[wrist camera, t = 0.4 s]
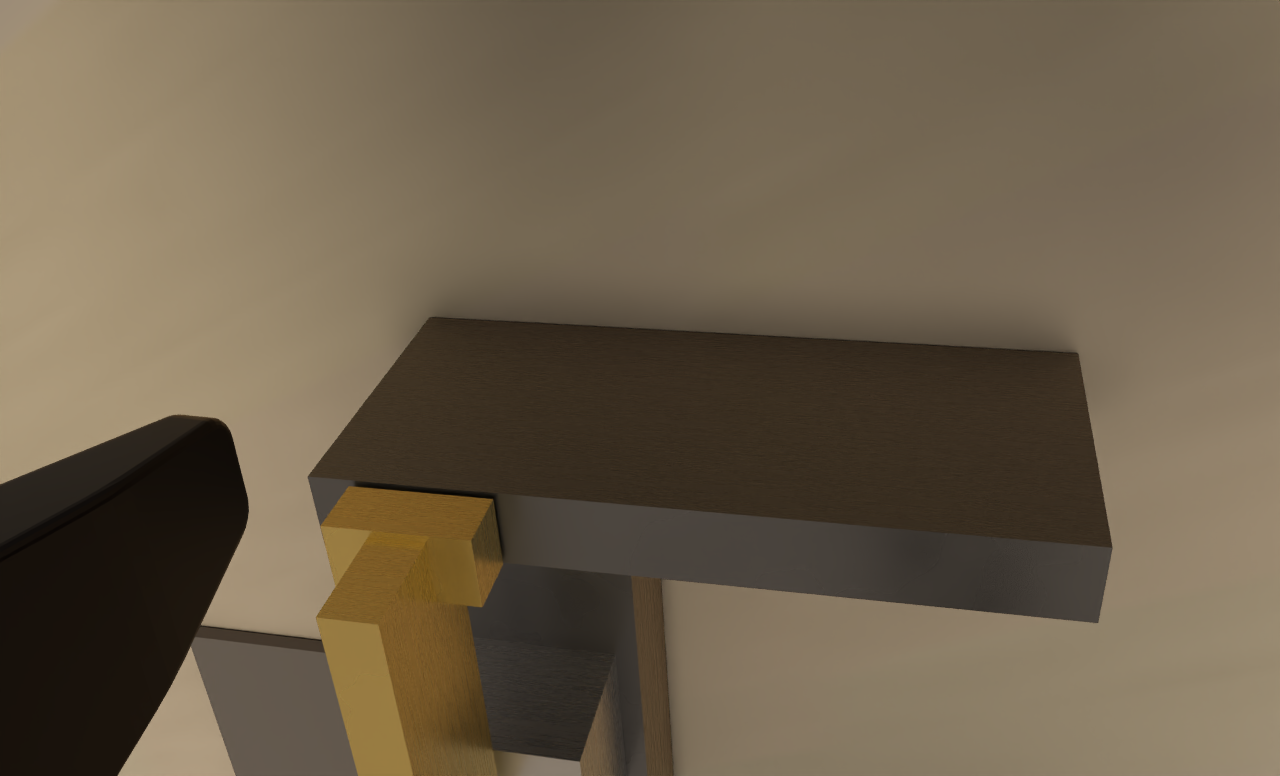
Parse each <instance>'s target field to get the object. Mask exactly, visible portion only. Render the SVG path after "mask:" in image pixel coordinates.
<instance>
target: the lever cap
mask: <svg viewBox="0 0 1280 776" xmlns="http://www.w3.org/2000/svg"><path fill="white" fill-rule="evenodd" d="M473 640H474V645H475V651H476V657H477V662H478V668H479V674H480V679H481V685H482V691H483V696H484V702H485V708H486V713H487V719H488V724H489V730H490V736H491V741H492V747H493V753H494V758H495V764H496V770H497V775H498V776H627V773H626V762H625V752H624V741H623V730H622V720H621V709H620V698H619V688H618V677H617V666H616V656H615V654H611V653H603V652H594V651H585V650H577V649H568V648H559V647H551V646H542V645H534V644H525V643H516V642H508V641H499V640H491V639H482V638H473Z"/></svg>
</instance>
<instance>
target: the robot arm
mask: <svg viewBox="0 0 1280 776" xmlns="http://www.w3.org/2000/svg"><path fill="white" fill-rule="evenodd" d="M248 513H249V506H248V497H247V493H246V489H245V485H244V481H243V477H242V473H241V469H240V465H239V462H238V458H237V454H236V450H235V446H234V442H233V438H232V435H231V432H230V430H229V429H228V427H227V426H226V424H225V423H224V422H222V421H220V420H219V419H216V418H208V417H199V416H189V415H172V416H168V417H166V418H163V419H161V420H158V421H156V422H153V423H151V424H148V425H146V426H143V427H141V428H139V429H136V430H134V431H131V432H129V433H126V434H124V435H121V436H119V437H116V438H114V439H111V440H109V441H106V442H104V443H101V444H99V445H97V446H94V447H92V448H89V449H87V450H84V451H82V452H79V453H77V454H74V455H72V456H69V457H67V458H64V459H62V460H59V461H57V462H55V463H52V464H50V465H47V466H45V467H42V468H40V469H37V470H35V471H32V472H30V473H27V474H25V475H22V476H20V477H18V478H15V479H13V480H10V481H8V482H5V483H3V484H0V776H118V774H119V772H120V771H121V769H122V767H123V766H124V764H125V762H126V761H127V759H128V757H129V756H130V754H131V752H132V751H133V749H134V748H135V746H136V744H137V743H138V741H139V739H140V738H141V736H142V734H143V733H144V731H145V729H146V728H147V726H148V724H149V723H150V721H151V719H152V718H153V716H154V714H155V713H156V711H157V709H158V708H159V706H160V704H161V702H162V701H163V699H164V697H165V695H166V694H167V692H168V690H169V688H170V687H171V685H172V683H173V681H174V679H175V677H176V675H177V673H178V671H179V669H180V667H181V665H182V663H183V661H184V659H185V657H186V655H187V653H188V651H189V649H190V647H191V644H192V642H193V640H194V638H195V636H196V634H197V632H198V629H199V627H200V625H201V623H202V621H203V619H204V617H205V615H206V612H207V610H208V608H209V606H210V604H211V602H212V600H213V597H214V595H215V593H216V591H217V589H218V587H219V585H220V583H221V580H222V578H223V576H224V574H225V572H226V570H227V568H228V565H229V563H230V561H231V559H232V557H233V555H234V553H235V551H236V548H237V546H238V544H239V542H240V540H241V538H242V536H243V533H244V531H245V528H246V524H247V520H248Z"/></svg>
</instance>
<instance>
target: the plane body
mask: <svg viewBox="0 0 1280 776" xmlns="http://www.w3.org/2000/svg"><path fill="white" fill-rule="evenodd" d="M308 480H309V484H310V488H311V492H312V495H313V499H314V503H315V507H316V511H317V515H318V519H319V523H320V527H321V524H322V523H323V522H324V520H325V519H326V517H327V516H328V515H329V513H330V512H331V510H332V509H333V508H334V506H335V505H336V503H337V502H338V501H339V499H340V498H341V496H342V495H343V493H344V492H345V491H346V489H347V488H348V486H352V487H363V488H374V489H386V490H397V491H408V492H419V493H430V494H441V495H453V496H464V497H475V498H486V499H493V501H494V508H495V514H496V521H497V527H498V534H499V540H500V547H501V554H502V560H503V566H502V568H501V570H500V572H499V574H498V576H497V578H496V580H495V582H494V584H493V586H492V589H491V591H490V593H489V595H488V597H487V599H486V601H485V603H484V605H483V607H473V606H468V612H469V617H470V623H471V629H472V634H473V638H482V639H491V640H499V641H508V642H516V643H525V644H534V645H542V646H551V647H559V648H568V649H577V650H585V651H594V652H603V653H611V654H615V656H616V666H617V677H618V688H619V698H620V709H621V720H622V730H623V741H624V752H625V762H626V773H627V776H673V761H672V745H671V730H670V714H669V698H668V682H667V667H666V651H665V635H664V620H663V604H662V588H661V579H669V580H679V581H689V582H698V583H708V584H718V585H728V586H738V587H748V588H758V589H767V590H777V591H787V592H797V593H807V594H817V595H827V596H836V597H846V598H856V599H866V600H876V601H886V602H896V603H905V604H915V605H925V606H935V607H945V608H955V609H965V610H974V611H984V612H994V613H1004V614H1014V615H1024V616H1034V617H1043V618H1053V619H1063V620H1073V621H1083V622H1093V623H1098V621H1099V616H1100V610H1101V605H1102V600H1103V595H1104V590H1105V584H1106V579H1107V574H1108V569H1109V563H1110V558H1111V553H1112V542H1111V536H1110V531H1109V525H1108V519H1107V514H1106V508H1105V502H1104V497H1103V491H1102V485H1101V480H1100V474H1099V468H1098V463H1097V457H1096V451H1095V446H1094V440H1093V434H1092V429H1091V423H1090V418H1089V412H1088V406H1087V401H1086V395H1085V389H1084V384H1083V378H1082V372H1081V367H1080V361H1079V355H1078V354H1073V353H1055V352H1037V351H1019V350H1001V349H983V348H965V347H947V346H929V345H911V344H894V343H876V342H858V341H840V340H822V339H804V338H786V337H768V336H750V335H732V334H715V333H697V332H679V331H661V330H643V329H625V328H607V327H589V326H571V325H553V324H535V323H518V322H500V321H482V320H464V319H446V318H429V319H428V320H427V321H426V323H425V324H424V325H423V327H422V328H421V329H420V331H419V332H418V333H417V335H416V336H415V337H414V338H413V340H412V341H411V342H410V344H409V345H408V346H407V348H406V349H405V350H404V352H403V353H402V354H401V355H400V357H399V358H398V359H397V361H396V362H395V363H394V365H393V366H392V367H391V368H390V370H389V371H388V372H387V374H386V375H385V376H384V378H383V379H382V380H381V382H380V383H379V384H378V385H377V387H376V388H375V389H374V391H373V392H372V393H371V395H370V396H369V397H368V399H367V400H366V401H365V402H364V404H363V405H362V406H361V408H360V409H359V410H358V412H357V413H356V414H355V416H354V417H353V418H352V419H351V421H350V422H349V423H348V425H347V426H346V427H345V429H344V430H343V431H342V433H341V434H340V435H339V436H338V438H337V439H336V440H335V442H334V443H333V444H332V446H331V447H330V448H329V449H328V451H327V452H326V453H325V455H324V456H323V457H322V459H321V460H320V461H319V463H318V464H317V465H316V466H315V468H314V469H313V470H312V472H311V473H310V474H309V476H308ZM321 531H322V530H321ZM322 535H323V534H322ZM323 539H324V538H323ZM324 543H325V542H324Z"/></svg>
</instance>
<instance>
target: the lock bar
mask: <svg viewBox="0 0 1280 776" xmlns="http://www.w3.org/2000/svg"><path fill="white" fill-rule="evenodd" d="M321 530H322V534H323V538H324V542H325V546H326V550H327V554H328V558H329V562H330V566H331V570H332V574H333V578H334V582H335V586H336V587H335V589H334V590H333V592H332V593H331V595H330V596H329V598H328V600H327V601H326V603H325V604H324V606H323V607H322V609H321V610H320V612H319V613H318V615H317V617H316V620H317V624H318V627H319V631H320V635H321V639H322V642H323V646H324V650H325V654H326V657H327V661H328V665H329V669H330V672H331V676H332V680H333V684H334V687H335V691H336V695H337V698H338V702H339V706H340V710H341V713H342V717H343V721H344V725H345V728H346V732H347V736H348V740H349V743H350V747H351V751H352V755H353V758H354V762H355V766H356V770H357V773H358V776H498V775H497V770H496V764H495V758H494V753H493V747H492V741H491V736H490V730H489V724H488V719H487V713H486V708H485V702H484V696H483V691H482V685H481V679H480V674H479V668H478V662H477V657H476V651H475V645H474V640H473V634H472V629H471V623H470V617H469V612H468V606H473V607H483V605H484V603H485V601H486V599H487V597H488V595H489V593H490V591H491V589H492V586H493V584H494V582H495V580H496V578H497V576H498V574H499V572H500V570H501V568H502V566H503V560H502V554H501V547H500V540H499V534H498V527H497V521H496V514H495V508H494V501H493V499H486V498H475V497H464V496H453V495H441V494H430V493H419V492H408V491H397V490H386V489H374V488H363V487H352V486H348V488H347V489H346V491H345V492H344V493H343V495H342V496H341V498H340V499H339V501H338V502H337V503H336V505H335V506H334V508H333V509H332V510H331V512H330V513H329V515H328V516H327V517H326V519H325V520H324V522H323V523H322V524H321Z"/></svg>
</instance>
